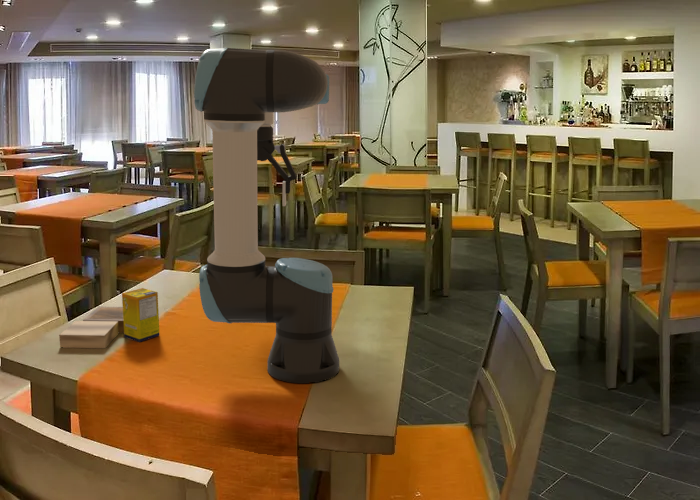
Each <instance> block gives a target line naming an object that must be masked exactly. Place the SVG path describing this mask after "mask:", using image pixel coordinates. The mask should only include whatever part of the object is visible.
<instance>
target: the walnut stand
mask: <svg viewBox="0 0 700 500" xmlns="http://www.w3.org/2000/svg"><path fill="white" fill-rule="evenodd" d="M82 321H118V327H119V334H120V333H121V334H122V333H123V334H124V321H123V306H97V307H96V308H95V309H94V310H93V311H92V312H90V313H89V314H88V315H87V316H86V317H85V318H84V319H83V320H82Z"/></svg>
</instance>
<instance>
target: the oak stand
mask: <svg viewBox="0 0 700 500" xmlns="http://www.w3.org/2000/svg"><path fill="white" fill-rule="evenodd" d="M119 334H120V333H119V327H118V321H83V320H75V321H73V322H72V323H71V324H70V325H69V326H68V327H67V328H65V329H64V330H63V331H62V332H61V333H60V334H59V335H58V336H59V347H63V348H67V349H106V348H107V347H108V346H109V345H110V344H111V343H112V341H113V340H114V339H115V338H116V337H117V336H118V335H119Z"/></svg>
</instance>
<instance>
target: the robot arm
mask: <svg viewBox="0 0 700 500" xmlns="http://www.w3.org/2000/svg"><path fill="white" fill-rule="evenodd" d="M197 63H198V64H197V66H196V70H195V78H194V86H193V87H194V90H193V97H194V106H195V109H196V110H197V111H199V112H201V113H202V112H203V122H204V123H205V124H207V126H208V127H209V128H210V129H211V132H212V135H211V137H212V141H211V142H212V172H213V173H212V177H213V178H212V179H213V181H212V182H213V184H212V185H213V186H212V187H213V220H214V221H213V225H214V226H213V227H214V230H213V232H214V233H213V234H214V250H213V252H211V254H209V255H208V256H207V257H206V258H207V259H206V260H207V261H206V263H207V264H205V265H202V266H201V268H200V269H199V275H198V277H199V278H198V281H199V283H198V286H199V288H198V289H199V297H200V302H201V307H202V310H203V313H204V315H205V316H206V318H207V319H208V320H210V321H212V322H215V323H225V324H238V323H239V324H240V323H241V324H246V323H247V324H249V323H250V324H258V323H259V324H275V337H274V339H273V342H272V345H271V348H270V351H269V355H268V357H267V373H268V374H269V375H270V376H271V377H272V378H274V379H276V380H279V381H283V382H286V383H293V384H310V383H309V382H315V383H319V382H318V381H321V382H323V381H322V380H325V379H328V380H330V379H332V378H334V377H335V376H337V375H338V374H337V373H339V372H340V357H339V353H338V350H337V347H336V344H335V341H334V338H333V332H332V331H333V329H332V326H333V293H334V286H333V273H332V271H331V269H330V268H329V267H328V266H327V265H325V264H323V263H322V262H318V261H315V260H312V259H307V258H301V257H282V258H279V259H277V261H276V262H275V264H274V266H269V265H268V266H267V265H266V256H265V255H264V254H263V253H262V252H261V251H260V250H259V245H258V242H259V237H258V236H259V235H258V234H259V233H258V232H259V231H258V229H259V228H258V227H259V226H258V221H259V220H258V219H259V218H258V215H259V214H258V211H259V210H258V161H259V162H266V161H268V162H269V163H270V164H271V165H272V166H273V168H274V170H276V171H277V172H278V173H279V175H280V176H281V177H282V178H283V181H282V207H286V206H287V195H289V194H290V193H291V181H294V180H296V179H297V177H298V176H297V173H296V171H295V169H294V167H293V165H292V163H291V161H290V159H289V157H288V154H287V153H286V146H285V144H284V143H282V144H280V145H279V144H277V145H275V144H274V128H273V126H272V125H273V124H274V113H288V112H295V111H300V110H305V109H307V108H311V107H314V106H316V105H326V104H328V103H329V101H330V76H329V74H327V73H326V72H325V70H324V68H323V67H322V66H321V65H320V64H319V63H318V62H317V61H315V60H313V59H312V58H310V57H308V56H305V55H303V54H300V53H297V52H293V51H289V50H284V49H255V48H253V49H252V48H235V47H219V48H209V49H206V50H204V51H203V52H202V53H201V55H200V57H199V60H198V62H197ZM274 151H276V152H277V153H278V154H280V156H281V159H282V160H283V163H284V164H285V166H286V169H287V170H288V172H289V174H288V173H287V172H286V171H285V169H284V168H283V167H282V166H281V165H280V164H279V162H278V161H277V160H276V159H275V158H274V156H273V153H274ZM336 374H337V375H336ZM333 376H334V377H333ZM331 377H332V378H331ZM329 378H330V379H329ZM325 381H326V380H325Z"/></svg>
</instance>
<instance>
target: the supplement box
mask: <svg viewBox="0 0 700 500" xmlns="http://www.w3.org/2000/svg"><path fill="white" fill-rule="evenodd" d="M158 294H159V293H158V292H157V291H154V290H152V289H148V288H144V287H141V288H137V289H133V290H130V291H129V290H128V291H126V292H125V291H124V292H122V293H121V298H122V299H121V301H122V303H121V304H122V307H123V321H124V333H123V334H124V335H123V336H124V338H125V339H129V340H132V341H134V342H137V343H141V342H143V341H147V340H150V339H153V338H156V337H159V336H160V318H159V317H160V316H159V315H160V314H159V298H158V296H159V295H158Z"/></svg>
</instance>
